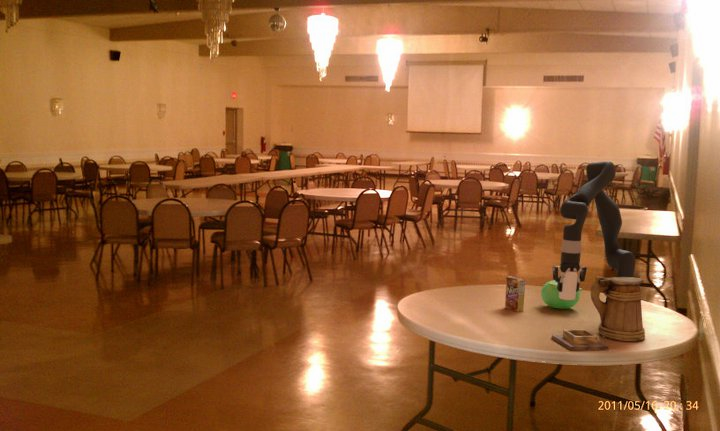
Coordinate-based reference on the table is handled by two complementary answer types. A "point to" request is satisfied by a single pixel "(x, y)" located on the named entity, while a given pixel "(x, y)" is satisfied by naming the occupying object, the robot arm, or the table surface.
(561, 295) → the can
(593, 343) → the socket stand
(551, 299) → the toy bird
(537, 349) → the table surface
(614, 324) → the tankard
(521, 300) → the candy box
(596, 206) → the robot arm
